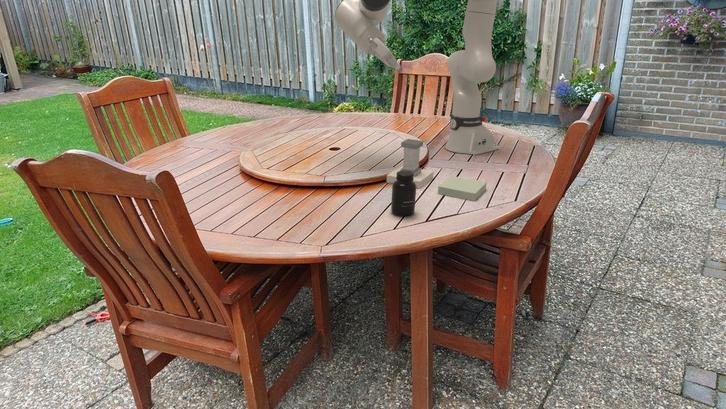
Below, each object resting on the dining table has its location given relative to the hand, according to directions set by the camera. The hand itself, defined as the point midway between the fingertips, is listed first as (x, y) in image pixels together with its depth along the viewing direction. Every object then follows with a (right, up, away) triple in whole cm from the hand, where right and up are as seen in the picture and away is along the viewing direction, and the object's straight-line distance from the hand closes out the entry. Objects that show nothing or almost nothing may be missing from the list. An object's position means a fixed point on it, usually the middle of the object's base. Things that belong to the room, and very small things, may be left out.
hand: (400, 70), depth 166 cm
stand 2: (+19, -42, -8) cm, 47 cm away
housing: (+3, -35, 0) cm, 35 cm away
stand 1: (+3, -37, +1) cm, 38 cm away
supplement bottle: (-1, -48, -25) cm, 54 cm away
